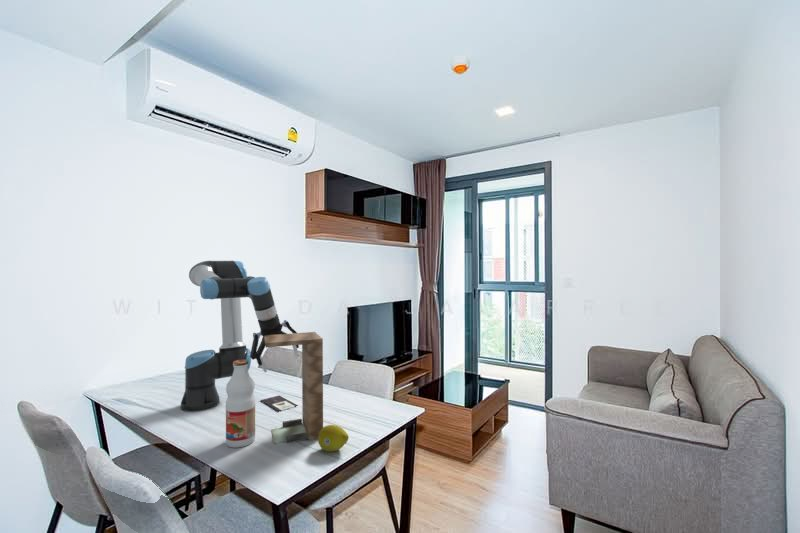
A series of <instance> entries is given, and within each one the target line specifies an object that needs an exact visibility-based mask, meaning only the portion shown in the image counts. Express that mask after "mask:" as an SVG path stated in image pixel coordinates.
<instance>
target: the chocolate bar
mask: <svg viewBox="0 0 800 533" xmlns="http://www.w3.org/2000/svg"><path fill="white" fill-rule="evenodd" d="M260 402H261V403H263V404H264V403H265V404H264V405H266V406H267V405H268V407H269V408H271V409H272V408H273V409H272V410H274V411H276V412H277V411H278V412H277V413H280V412H283V410H284V411H287V410H291V409H294V408H297V407H296V406H299V405H298V404H296V403H294V402H292V401H290V400H288V399H287V398H286V397H283V396H282V395H276V396H272V397H269V398H263V399H260ZM293 407H294V408H293ZM290 408H291V409H290ZM286 409H287V410H286ZM279 411H280V412H279Z"/></svg>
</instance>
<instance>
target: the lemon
mask: <svg viewBox="0 0 800 533" xmlns="http://www.w3.org/2000/svg"><path fill="white" fill-rule="evenodd" d="M348 441H349V434H348V433H347V432H346V431H345V429H344V428H342V427H341V426H338V425H335V424H328V425H325V426H323V428H322V429H321V431H320V433H319V436H318V439H317V442H318V445H319V447H320V449H322V450H324V451H325V452H329V453H331V452H332V453H333V452H337V451H339V450H340V449H342V448H343V447H344V446H345V445H346V444H347V443H348Z"/></svg>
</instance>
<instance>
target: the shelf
mask: <svg viewBox="0 0 800 533" xmlns="http://www.w3.org/2000/svg"><path fill="white" fill-rule="evenodd" d="M264 342H265V348H279V347H290V346H292V345H299V346H300V345H301V356H302V357H301V358H302V359H301V363H302V364H301V367H302V368H301V371H302V373H301V376H302V379H301V383H302V384H301V390H302V392H301V394H302V395H301V398H302V406H301V408H302V411H301V412H302V414H301V415H302V416H301V418H298V419H297V418H296V419H291V420H284V421H282V427H279V428H278V427H277V428H272V429H271V434H272V439H273V440H272V441H273V444H281V443H285V444H288V443H293V442H295V443H296V442H300V441H301V442H302V441H305V440H308V441H312V440H318V436H319V433H320V431H321V429H322V428H323V427H324V368H323V367H324V366H323V365H324V361H323V360H324V357H323V356H324V349H323V348H324V346H323V343H324V341H323V337H321V335H320V334H318V333H317V332H316V331H312V332H311V331H309V332H308V331H307V332H306V331H305V332H297V333H292V332H291V333H287V334H277V335H264Z"/></svg>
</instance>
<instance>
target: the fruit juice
mask: <svg viewBox="0 0 800 533" xmlns="http://www.w3.org/2000/svg"><path fill="white" fill-rule="evenodd" d="M247 366H248V360H236V361H234V362H233V367H234V371H233V375H232V377H230V379H229V381H228V382H227V384H226V388H225V390H226V394H227V399H226V402H225V442H226V443H225V444H226V446H227V447H229V448H243V447H247V446H249V445H251V444H252V443H253V442H255V439H256V398H255V394H254V391H255V386H256V385H255V381H254V379H253V378H252V377H251V375H250V374H249V370H248V369H247Z"/></svg>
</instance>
